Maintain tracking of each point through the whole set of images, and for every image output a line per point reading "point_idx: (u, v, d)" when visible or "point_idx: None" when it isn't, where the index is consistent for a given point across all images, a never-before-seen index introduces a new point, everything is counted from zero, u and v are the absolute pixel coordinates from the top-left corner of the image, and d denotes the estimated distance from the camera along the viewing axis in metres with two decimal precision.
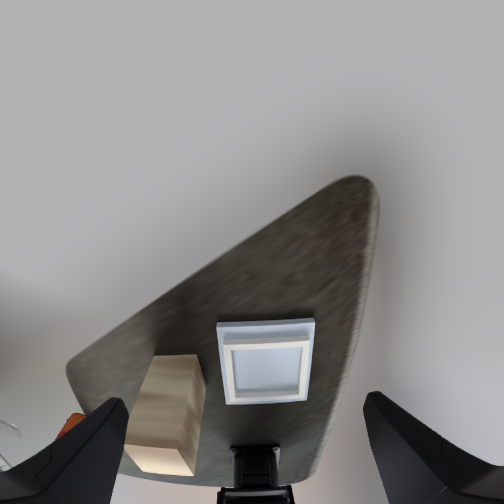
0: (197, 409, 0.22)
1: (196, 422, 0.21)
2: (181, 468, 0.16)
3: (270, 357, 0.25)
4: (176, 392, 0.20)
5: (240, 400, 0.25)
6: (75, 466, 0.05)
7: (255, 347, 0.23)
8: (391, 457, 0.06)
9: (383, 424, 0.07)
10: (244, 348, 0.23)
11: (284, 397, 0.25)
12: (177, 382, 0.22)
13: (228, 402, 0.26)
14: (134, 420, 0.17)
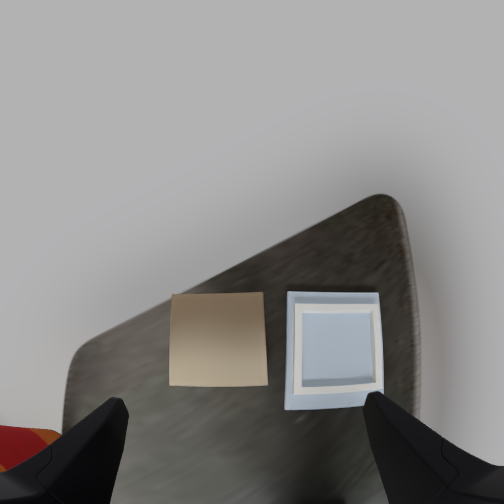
0: None
1: None
2: (252, 358, 0.12)
3: (341, 332, 0.22)
4: None
5: (307, 391, 0.20)
6: (75, 466, 0.05)
7: (327, 308, 0.23)
8: (391, 457, 0.06)
9: (383, 424, 0.07)
10: (316, 309, 0.23)
11: (360, 387, 0.19)
12: None
13: (288, 406, 0.20)
14: None
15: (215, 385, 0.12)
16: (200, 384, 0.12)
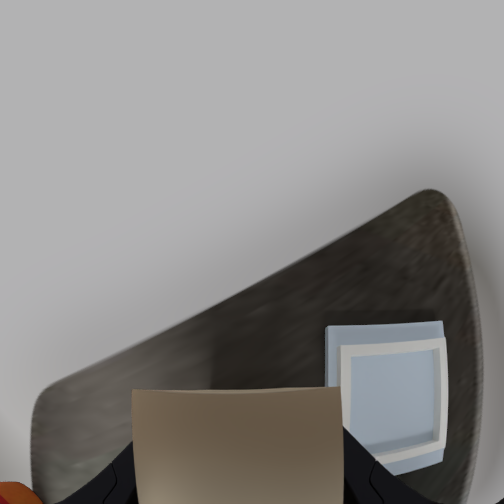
0: None
1: None
2: None
3: (399, 379, 0.14)
4: (273, 389, 0.10)
5: None
6: None
7: (384, 349, 0.14)
8: None
9: None
10: (370, 351, 0.14)
11: (421, 450, 0.11)
12: (268, 389, 0.11)
13: None
14: (181, 390, 0.07)
15: None
16: None
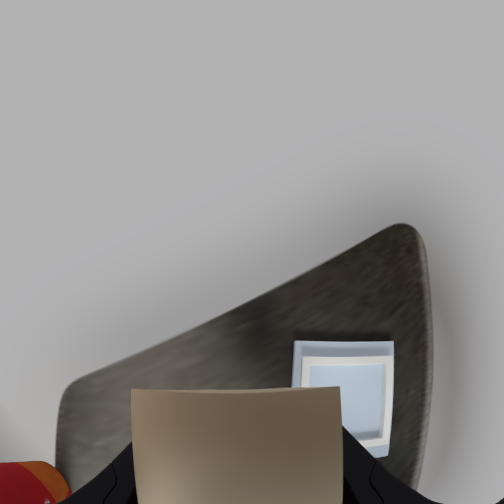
0: None
1: None
2: None
3: (350, 385, 0.19)
4: (273, 389, 0.10)
5: None
6: None
7: (338, 362, 0.19)
8: None
9: None
10: (326, 362, 0.19)
11: (366, 443, 0.16)
12: (267, 389, 0.11)
13: None
14: None
15: None
16: None
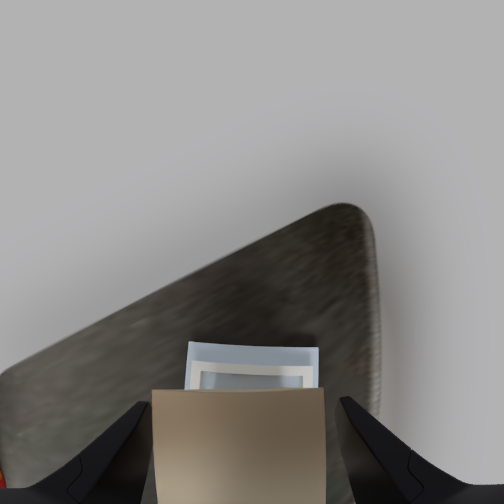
0: None
1: None
2: (301, 497, 0.05)
3: None
4: None
5: None
6: (107, 476, 0.05)
7: (235, 370, 0.16)
8: (358, 466, 0.06)
9: (351, 431, 0.07)
10: (220, 370, 0.16)
11: None
12: None
13: None
14: (191, 390, 0.09)
15: None
16: None
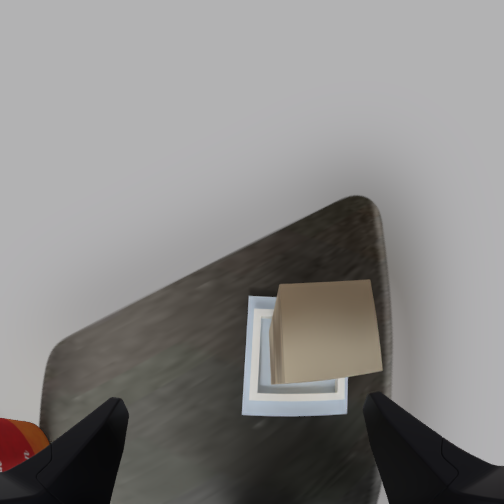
0: None
1: None
2: (367, 345, 0.11)
3: None
4: None
5: (263, 398, 0.19)
6: (75, 466, 0.05)
7: None
8: (391, 457, 0.06)
9: (383, 424, 0.07)
10: None
11: (320, 396, 0.19)
12: None
13: (245, 411, 0.20)
14: None
15: (334, 376, 0.11)
16: (319, 377, 0.11)
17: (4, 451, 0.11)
